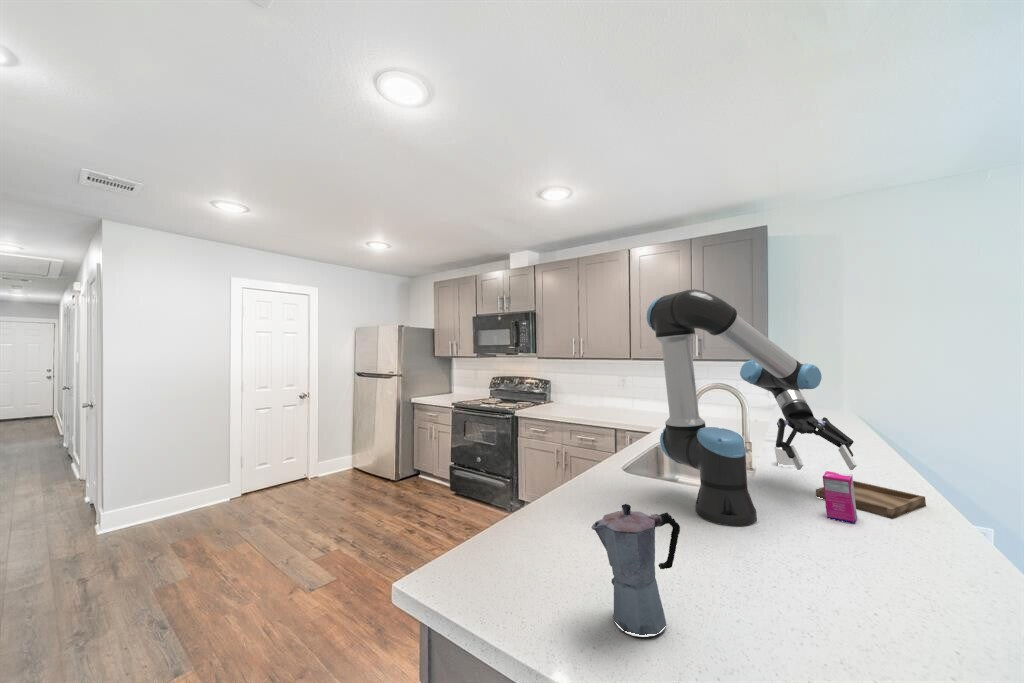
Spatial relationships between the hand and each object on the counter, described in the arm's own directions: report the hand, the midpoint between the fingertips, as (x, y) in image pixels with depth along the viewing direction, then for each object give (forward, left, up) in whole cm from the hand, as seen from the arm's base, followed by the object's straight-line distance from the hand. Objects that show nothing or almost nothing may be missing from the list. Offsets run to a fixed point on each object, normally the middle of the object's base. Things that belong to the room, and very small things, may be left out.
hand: (826, 467), depth 112 cm
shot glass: (+31, +31, -11) cm, 45 cm away
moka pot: (-80, -12, -11) cm, 82 cm away
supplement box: (-5, -5, -11) cm, 14 cm away
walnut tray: (+14, -3, -11) cm, 18 cm away
